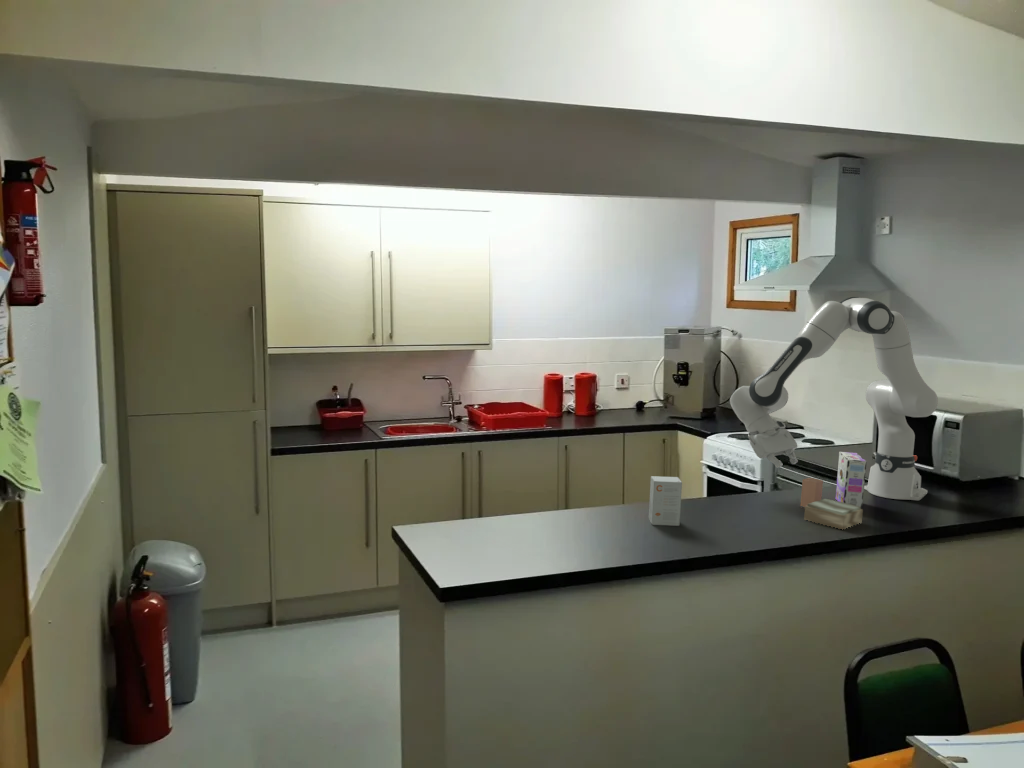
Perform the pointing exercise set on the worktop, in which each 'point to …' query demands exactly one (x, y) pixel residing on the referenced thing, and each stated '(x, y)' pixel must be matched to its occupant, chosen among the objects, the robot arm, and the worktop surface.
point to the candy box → (850, 478)
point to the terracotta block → (811, 491)
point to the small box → (665, 500)
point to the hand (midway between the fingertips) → (787, 464)
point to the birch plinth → (833, 513)
